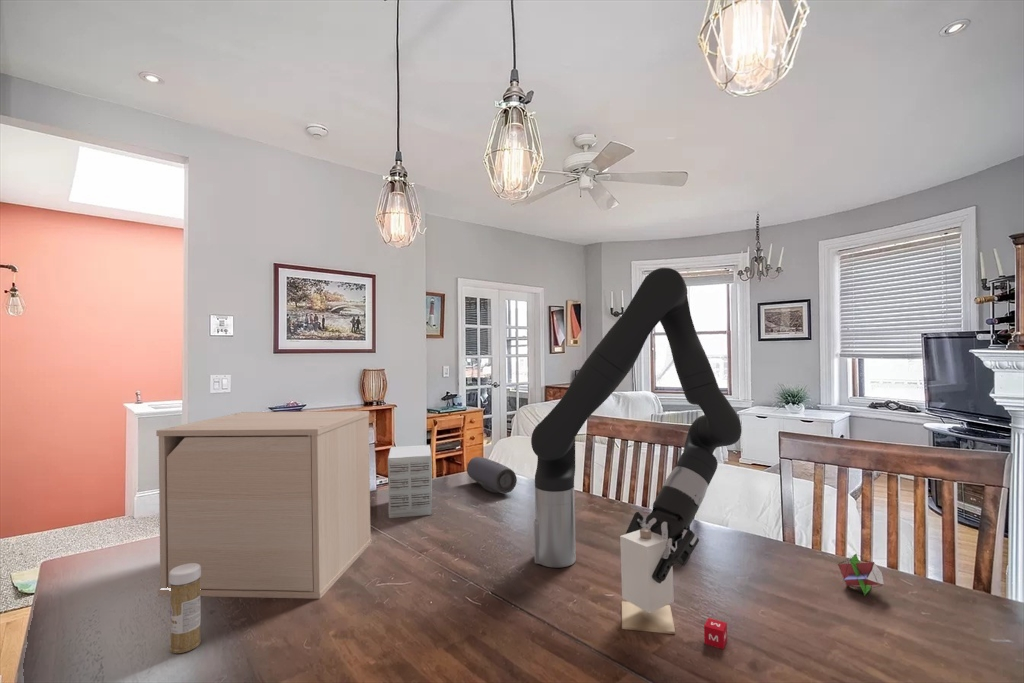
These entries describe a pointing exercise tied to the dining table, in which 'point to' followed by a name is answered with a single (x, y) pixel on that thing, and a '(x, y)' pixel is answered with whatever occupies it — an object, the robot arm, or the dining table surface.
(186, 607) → the sprinkles bottle
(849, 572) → the geometric puzzle
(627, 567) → the white knobbed pillar
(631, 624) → the coaster
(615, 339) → the robot arm
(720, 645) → the dice
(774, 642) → the dining table surface
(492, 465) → the bluetooth speaker
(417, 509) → the supplement box
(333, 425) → the cabinet
